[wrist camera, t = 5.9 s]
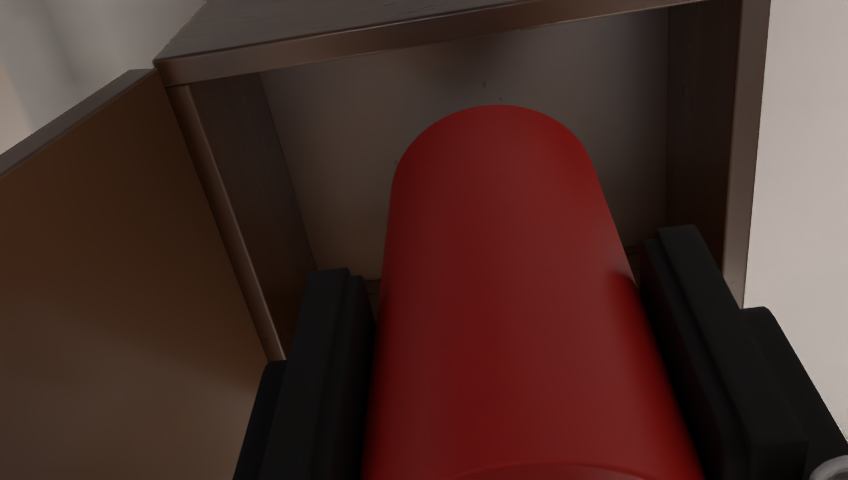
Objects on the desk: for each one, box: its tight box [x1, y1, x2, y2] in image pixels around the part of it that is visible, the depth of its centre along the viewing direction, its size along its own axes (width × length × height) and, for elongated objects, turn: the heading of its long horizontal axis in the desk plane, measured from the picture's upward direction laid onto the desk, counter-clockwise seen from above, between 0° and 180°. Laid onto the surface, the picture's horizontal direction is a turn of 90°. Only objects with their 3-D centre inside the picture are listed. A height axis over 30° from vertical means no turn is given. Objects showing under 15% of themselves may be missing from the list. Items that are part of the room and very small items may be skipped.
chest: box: [152, 0, 771, 363], centre depth 19 cm, size 12×10×6 cm
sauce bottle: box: [359, 104, 707, 480], centre depth 11 cm, size 4×4×9 cm
